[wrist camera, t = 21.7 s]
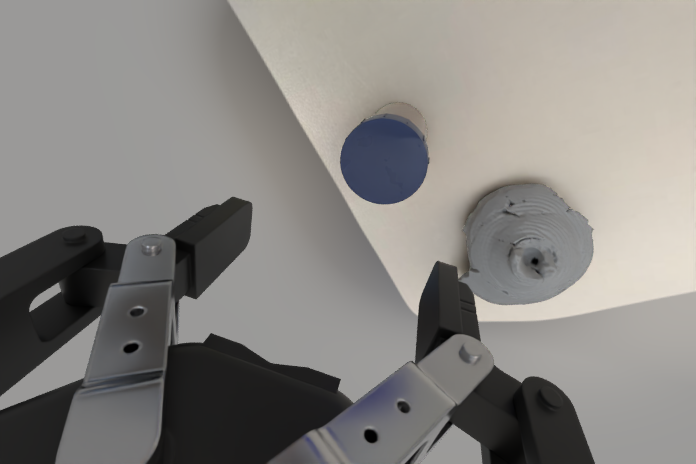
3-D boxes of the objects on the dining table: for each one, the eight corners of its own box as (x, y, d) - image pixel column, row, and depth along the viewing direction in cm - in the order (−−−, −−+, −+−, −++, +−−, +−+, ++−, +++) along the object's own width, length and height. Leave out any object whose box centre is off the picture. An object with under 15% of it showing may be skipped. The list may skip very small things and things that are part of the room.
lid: (335, 126, 25) (328, 131, 23) (418, 102, 23) (417, 106, 21) (359, 201, 27) (354, 211, 26) (435, 186, 25) (435, 195, 24)
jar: (361, 111, 32) (335, 133, 24) (420, 94, 30) (414, 111, 22) (376, 167, 34) (357, 205, 26) (432, 154, 32) (431, 190, 24)
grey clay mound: (442, 195, 37) (437, 208, 27) (567, 170, 33) (614, 174, 23) (462, 299, 38) (464, 347, 28) (583, 287, 34) (634, 338, 24)
